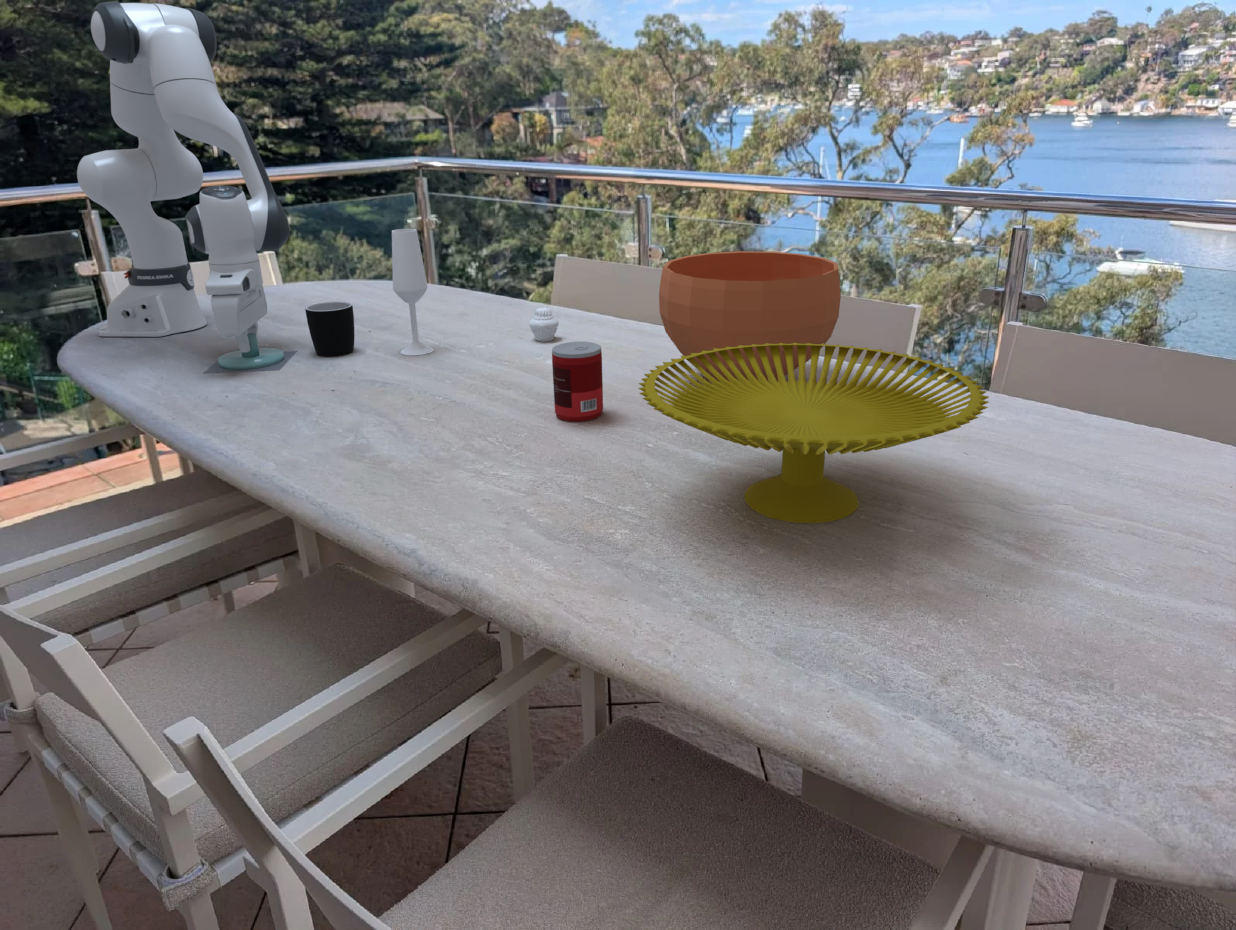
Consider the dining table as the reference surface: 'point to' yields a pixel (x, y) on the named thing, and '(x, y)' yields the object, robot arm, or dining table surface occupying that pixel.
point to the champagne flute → (409, 280)
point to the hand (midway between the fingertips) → (249, 348)
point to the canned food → (577, 381)
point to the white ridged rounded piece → (543, 324)
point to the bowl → (749, 304)
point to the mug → (331, 328)
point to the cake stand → (810, 417)
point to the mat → (217, 369)
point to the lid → (251, 357)
